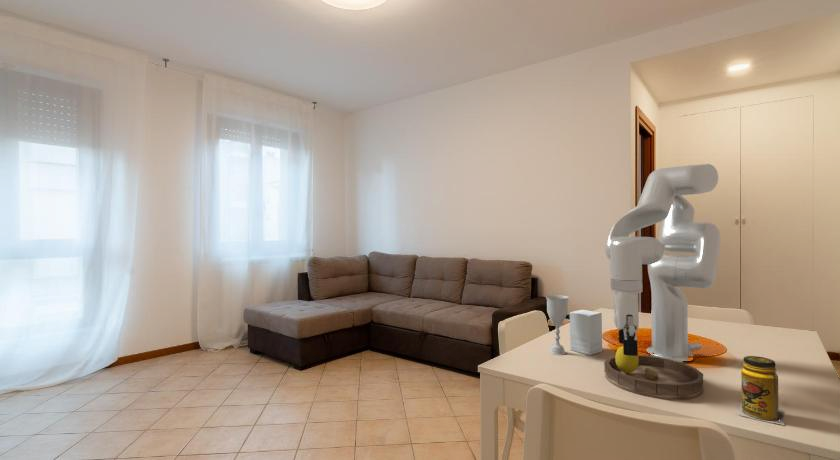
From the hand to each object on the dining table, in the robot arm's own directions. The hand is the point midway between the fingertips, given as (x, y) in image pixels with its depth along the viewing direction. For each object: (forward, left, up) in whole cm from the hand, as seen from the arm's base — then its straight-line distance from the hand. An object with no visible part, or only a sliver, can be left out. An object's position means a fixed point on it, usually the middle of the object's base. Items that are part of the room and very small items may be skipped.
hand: (627, 348), depth 107 cm
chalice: (+8, -24, -8) cm, 26 cm away
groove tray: (-4, +3, -8) cm, 9 cm away
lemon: (0, 0, -7) cm, 7 cm away
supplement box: (-2, -24, -8) cm, 25 cm away
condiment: (-14, +23, -8) cm, 29 cm away
